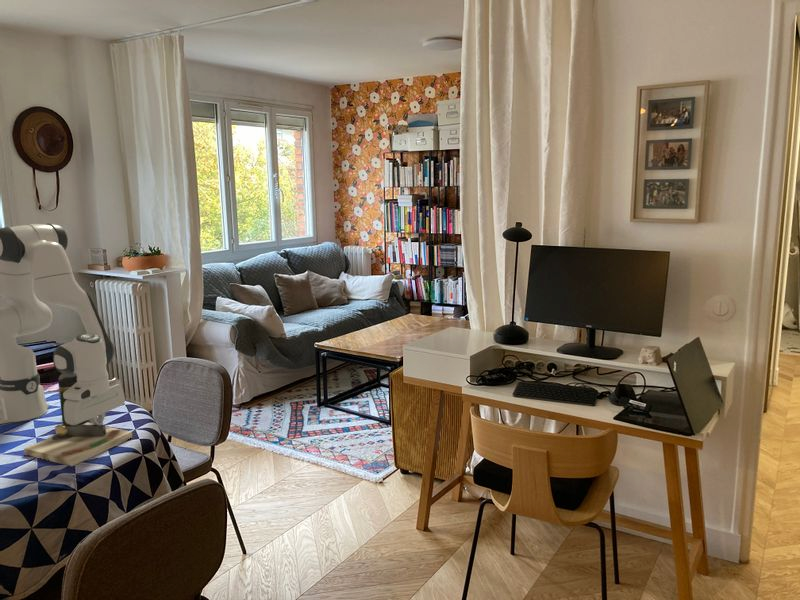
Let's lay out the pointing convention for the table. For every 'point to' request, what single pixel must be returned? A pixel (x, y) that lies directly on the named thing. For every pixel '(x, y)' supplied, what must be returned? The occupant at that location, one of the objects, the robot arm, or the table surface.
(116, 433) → the dial board
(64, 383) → the coffee jar
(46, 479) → the table surface
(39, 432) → the table surface
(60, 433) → the tuning needle
